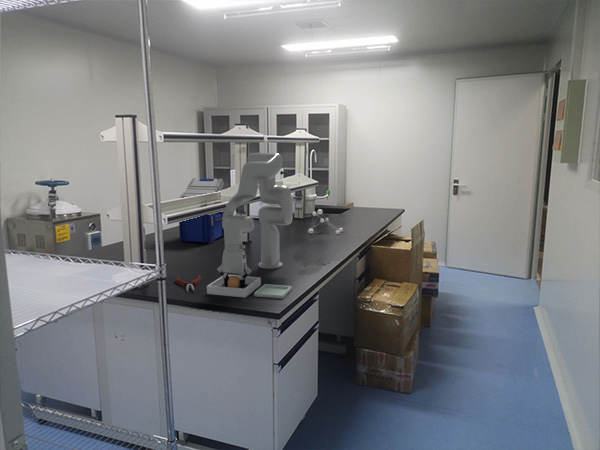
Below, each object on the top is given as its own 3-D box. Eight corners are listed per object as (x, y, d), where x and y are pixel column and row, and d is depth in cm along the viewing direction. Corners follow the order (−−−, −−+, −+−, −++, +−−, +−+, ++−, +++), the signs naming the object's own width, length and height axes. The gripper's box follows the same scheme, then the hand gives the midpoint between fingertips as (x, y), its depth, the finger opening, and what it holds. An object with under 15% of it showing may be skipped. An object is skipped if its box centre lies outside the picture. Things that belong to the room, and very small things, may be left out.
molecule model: (308, 234, 326) (308, 209, 328) (342, 235, 326) (343, 211, 328) (308, 233, 312) (309, 207, 313) (344, 234, 312) (345, 208, 313)
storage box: (209, 244, 285) (207, 181, 278) (177, 243, 291) (173, 180, 284) (228, 235, 313) (227, 178, 306) (198, 234, 319) (196, 177, 311)
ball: (231, 286, 202) (231, 273, 201) (243, 287, 200) (243, 274, 199) (225, 290, 196) (225, 277, 195) (238, 292, 194) (237, 278, 193)
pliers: (176, 295, 192) (176, 289, 192) (175, 281, 211) (175, 276, 211) (204, 292, 196) (203, 286, 195) (200, 279, 214) (200, 274, 214)
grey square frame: (225, 281, 209) (225, 274, 208) (260, 284, 204) (260, 277, 203) (207, 293, 192) (206, 285, 192) (245, 297, 187) (245, 289, 187)
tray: (264, 287, 201) (264, 283, 200) (291, 289, 197) (291, 286, 197) (254, 296, 189) (254, 292, 189) (282, 299, 185) (282, 295, 185)
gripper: (255, 246, 196) (256, 286, 199) (219, 244, 201) (220, 282, 204) (248, 250, 189) (249, 291, 192) (211, 247, 193) (212, 287, 197)
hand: (234, 286), depth 198 cm, fingers open, 6 cm apart
